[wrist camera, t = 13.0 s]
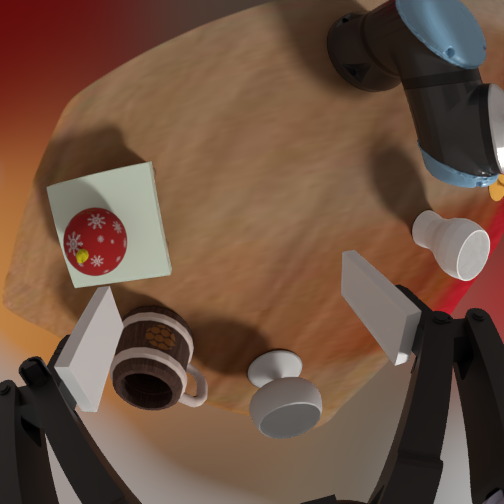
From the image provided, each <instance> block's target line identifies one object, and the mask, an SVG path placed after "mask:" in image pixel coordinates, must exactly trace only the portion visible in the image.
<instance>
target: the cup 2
mask: <svg viewBox="0 0 504 504" xmlns="http://www.w3.org/2000/svg"><path fill="white" fill-rule="evenodd" d="M489 193H490V196H491V198H492V199H493V200H495V201H499V200H500V199H501V198H502V197H503V195H504V175H503V174H499V176H498V179H497V180H496V182H495V183H493V184H491V185H489Z"/></svg>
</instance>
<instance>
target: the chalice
mask: <svg viewBox="0 0 504 504" xmlns="http://www.w3.org/2000/svg"><path fill="white" fill-rule="evenodd" d="M301 370H302V361H301V359H300V358H299V356H298V355H296V354H295V353H293V352H290V351H284V350H277V351H271V352H268V353H265V354H263V355H261V356H259V357H258V358H257V359H255V360H254V361H253V362H252V364H251V365H250V367H249V369H248V379H249V380H250V382H251V383H252V384H253V385H255V386H257V387H259V390H258V391H257V392H256V393H255V394H254V395H253V397H252V399H251V402H250V415H251V417H252V420H253V422H254V424H255V426H256V427H257V428H258V429H259V430H260V431H261V432H262V433H263V434H264V435H266V436H268V437H271V438H278V439H280V438H281V439H282V438H290V437H294V436H298V435H300V434H303V433H305V432H307V431H308V430H310V429H311V428H312V427H314V426H315V425H316V424H317V422H318V421H319V419H320V416H321V412H322V401H321V395H320V393H319V391H318V389H317V387H316V386H315V385H314V384H313V383H312V382H310V381H308V380H306V379H302V378H299V377H298V376H299V374H300V373H301Z"/></svg>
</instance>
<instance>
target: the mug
mask: <svg viewBox="0 0 504 504" xmlns="http://www.w3.org/2000/svg"><path fill="white" fill-rule="evenodd" d="M122 323H123V326H124V327H123V330H122V333H121V336H120V339H119V342H118V345H117V348H116V352H115V357H114V359H113V361H112V363H111V366H110V377H111V379H112V382H113V386H114V389H115V391H116V393H117V394H118V395H119V396H120V397H121V398H122V399H123V400H125V401H126V402H127V403H129V404H131V405H132V406H135V407H138V408H140V409H145V410H161V409H165V408H169V407H171V406H173V405H174V404H176V402H177V401H179V402H181V403H184V404H186V405H188V406H191V407H197V406H200V405H202V404H203V403H204V401H205V400H206V399H207V382H206V379H205V376H204V375H203V374H202V373H201V372H200V371H199V369H197V368H196V367H195V366H193V365H192V364H190V363H189V362H190V361H191V358H192V354H193V349H194V347H193V338H192V333H191V330H190V328H189V327H188V325H187V323H186V322H185V321H184V320H183V319H182V318H181V317H179V316H178V315H177V314H175V313H173V312H171V311H169V310H167V309H164V308H160V307H155V306H149V307H140V308H137V309H135V310H132V311H130V312H129V313H128V314H127V315H126V316H125V317H124V318H123V320H122ZM186 371H187V372H189V373H190V374H191V375H193V376H194V378H195V380H196V382H197V395H196V396H191V395H189V394H186V393H184V392H185V388H186V384H187V376H186Z"/></svg>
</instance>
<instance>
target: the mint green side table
mask: <svg viewBox="0 0 504 504" xmlns="http://www.w3.org/2000/svg"><path fill="white" fill-rule="evenodd" d="M155 174H156V171H155V168H154V167H153V166H152V161H149V162H144V163H139V164H134V165H129V166H125V167H120V168H116V169H111V170H107V171H103V172H98V173H94V174H90V175H86V176H82V177H79V178H75V179H71V180H67V181H64V182H60V183H57V184H53V185H51V186H48V187H47V192H48V197H49V202H50V206H51V210H52V214H53V218H54V222H55V226H56V230H57V234H58V237H59V241H60V244H61V248H62V251H63V254H64V258H65V261H66V264H67V267H68V270H69V273H70V276H71V279H72V282H73V285H74V287H75V288H79V287H86V286H94V285H101V284H109V283H116V282H123V281H131V280H138V279H145V278H152V277H159V276H167V275H171V270H172V268H171V263H170V259H169V254H168V246H169V243H168V241H167V240H166V239H165V235H164V230H163V225H162V220H161V214H160V209H159V203H158V198H157V192H156V186H155V180H154V176H155ZM93 207H98V208H104V209H107V210H109V211H111V212H112V213H114V214H115V215H116V216H117V217H118V218H119V219H120V220H121V222H122V223H123V225H124V227H125V230H126V234H127V249H126V253H125V256H124V258H123V260H122V261H121V263H120V264H119V265H118V266H117V267H116V268H115V269H114V270H113V271H111V272H109V273H107V274H104V275H101V276H90V275H86V274H83V273H81V272H79V271H78V270H76V269H75V268H74V267H73V266H72V265H71V264H70V262H69V261H68V259H67V257H66V255H65V251H64V246H63V238H64V233H65V229H66V227H67V225H68V223H69V222H70V220H71V219H72V218H73V217H74V216H75V215H76V214H77V213H79V212H80V211H82V210H85V209H88V208H93Z"/></svg>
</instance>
